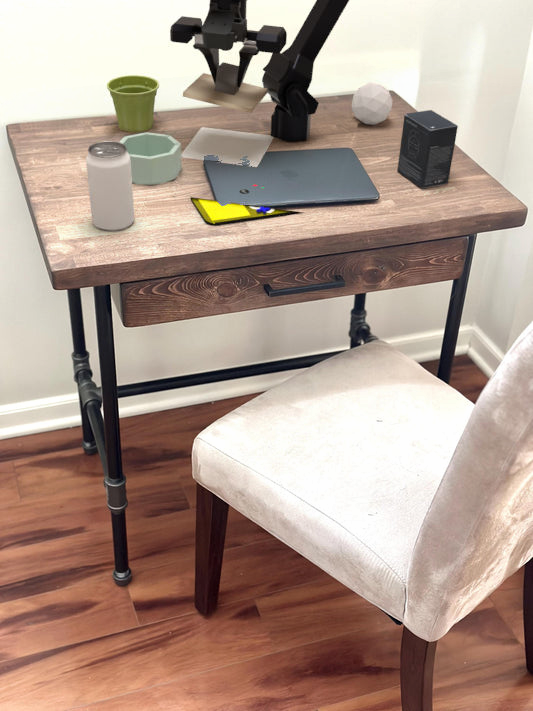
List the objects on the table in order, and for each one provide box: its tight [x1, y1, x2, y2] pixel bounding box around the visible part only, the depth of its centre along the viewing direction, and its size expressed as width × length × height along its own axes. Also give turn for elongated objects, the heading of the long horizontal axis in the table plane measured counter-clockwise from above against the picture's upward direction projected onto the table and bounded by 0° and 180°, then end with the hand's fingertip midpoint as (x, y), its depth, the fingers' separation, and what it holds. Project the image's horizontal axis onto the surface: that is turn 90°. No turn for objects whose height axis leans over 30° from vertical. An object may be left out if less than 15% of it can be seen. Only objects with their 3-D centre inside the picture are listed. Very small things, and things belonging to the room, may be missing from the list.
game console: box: [190, 184, 304, 227], centre depth 140 cm, size 18×11×2 cm, turn 112°
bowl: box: [119, 131, 183, 186], centre depth 146 cm, size 10×10×6 cm
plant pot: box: [106, 74, 160, 133], centre depth 160 cm, size 9×9×9 cm
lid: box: [182, 62, 268, 114], centre depth 149 cm, size 12×12×5 cm
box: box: [397, 109, 459, 189], centre depth 147 cm, size 8×6×11 cm
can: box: [85, 140, 135, 232], centre depth 130 cm, size 6×6×12 cm
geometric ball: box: [350, 82, 394, 126], centre depth 167 cm, size 8×8×8 cm
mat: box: [181, 126, 275, 168], centre depth 156 cm, size 14×14×1 cm
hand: (228, 85), depth 149 cm, fingers closed on lid, 4 cm apart
